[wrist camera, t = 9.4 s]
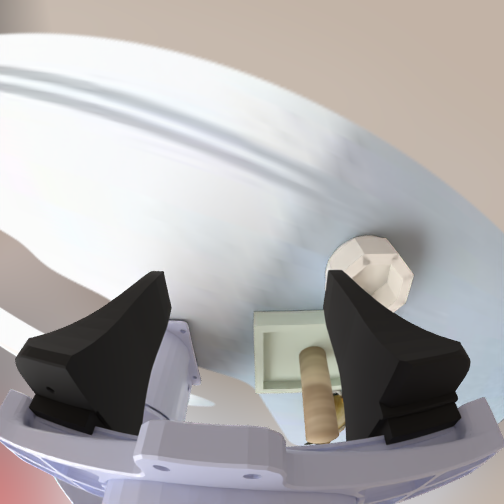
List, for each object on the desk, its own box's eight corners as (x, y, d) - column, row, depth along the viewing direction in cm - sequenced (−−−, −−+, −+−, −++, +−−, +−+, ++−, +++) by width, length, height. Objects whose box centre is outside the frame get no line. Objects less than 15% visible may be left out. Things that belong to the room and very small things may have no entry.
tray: (353, 375, 30) (357, 387, 28) (255, 380, 30) (255, 393, 28) (374, 307, 25) (380, 319, 23) (253, 311, 25) (253, 325, 24)
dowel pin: (323, 363, 27) (335, 441, 19) (297, 364, 27) (304, 444, 20) (327, 345, 26) (342, 428, 18) (299, 346, 26) (308, 431, 18)
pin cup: (388, 299, 24) (399, 321, 22) (321, 303, 25) (327, 326, 22) (403, 235, 21) (419, 252, 19) (328, 234, 22) (338, 254, 19)
